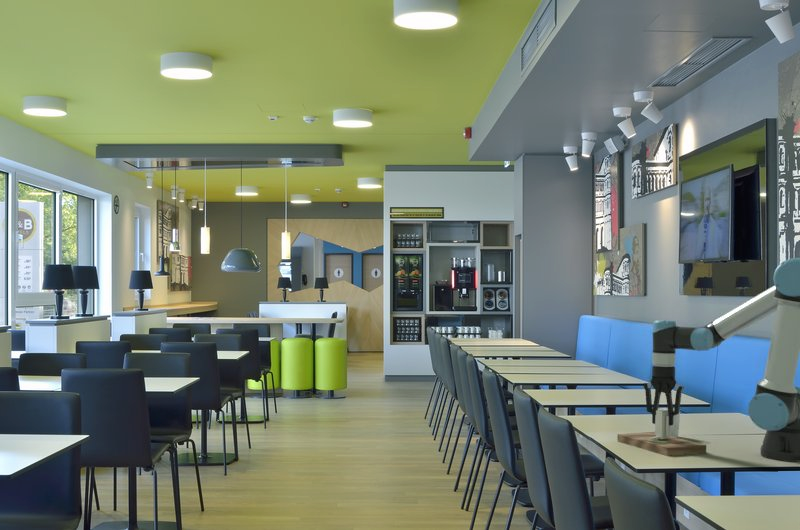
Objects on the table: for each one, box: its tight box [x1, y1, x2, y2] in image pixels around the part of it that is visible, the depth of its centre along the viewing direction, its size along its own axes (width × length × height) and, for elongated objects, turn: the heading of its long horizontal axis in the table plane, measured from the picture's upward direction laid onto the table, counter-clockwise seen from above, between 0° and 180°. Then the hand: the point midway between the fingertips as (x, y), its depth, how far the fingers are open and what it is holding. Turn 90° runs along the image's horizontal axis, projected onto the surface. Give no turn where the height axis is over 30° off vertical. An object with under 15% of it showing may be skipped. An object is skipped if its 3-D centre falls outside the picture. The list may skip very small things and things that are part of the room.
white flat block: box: [649, 409, 670, 440], centre depth 283 cm, size 2×11×10 cm, turn 134°
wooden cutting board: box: [616, 431, 707, 457], centre depth 284 cm, size 26×16×3 cm, turn 22°
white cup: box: [658, 407, 681, 438], centre depth 304 cm, size 8×8×10 cm
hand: (662, 434), depth 285 cm, fingers closed on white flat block, 3 cm apart
